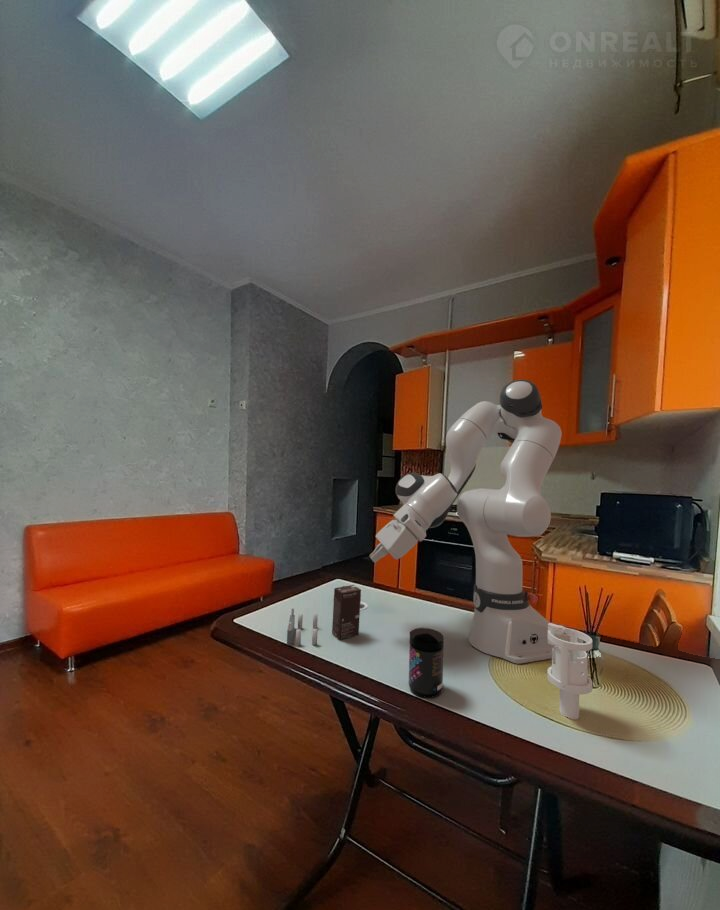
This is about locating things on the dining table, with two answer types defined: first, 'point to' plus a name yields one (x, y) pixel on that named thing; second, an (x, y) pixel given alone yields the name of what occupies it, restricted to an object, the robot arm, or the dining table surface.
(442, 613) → the dining table surface
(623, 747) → the dining table surface
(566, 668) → the white plastic upright piece
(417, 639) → the supplement container
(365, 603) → the teacup and saucer
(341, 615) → the box
